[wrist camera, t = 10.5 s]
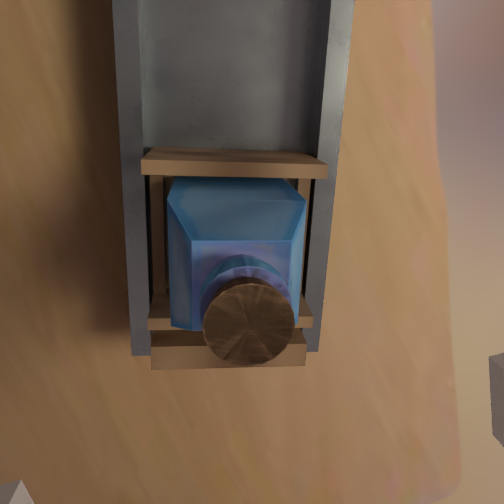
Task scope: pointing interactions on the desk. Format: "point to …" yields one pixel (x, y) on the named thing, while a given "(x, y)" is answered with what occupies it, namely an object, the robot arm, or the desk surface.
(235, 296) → the perfume bottle
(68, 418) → the desk surface
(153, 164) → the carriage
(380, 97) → the desk surface
